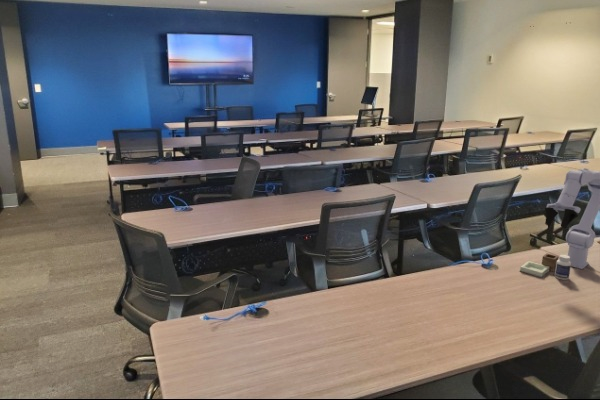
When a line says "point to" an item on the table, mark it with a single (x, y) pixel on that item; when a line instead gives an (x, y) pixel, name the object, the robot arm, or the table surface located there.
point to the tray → (534, 269)
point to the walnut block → (550, 261)
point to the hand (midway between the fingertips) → (554, 226)
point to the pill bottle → (563, 267)
